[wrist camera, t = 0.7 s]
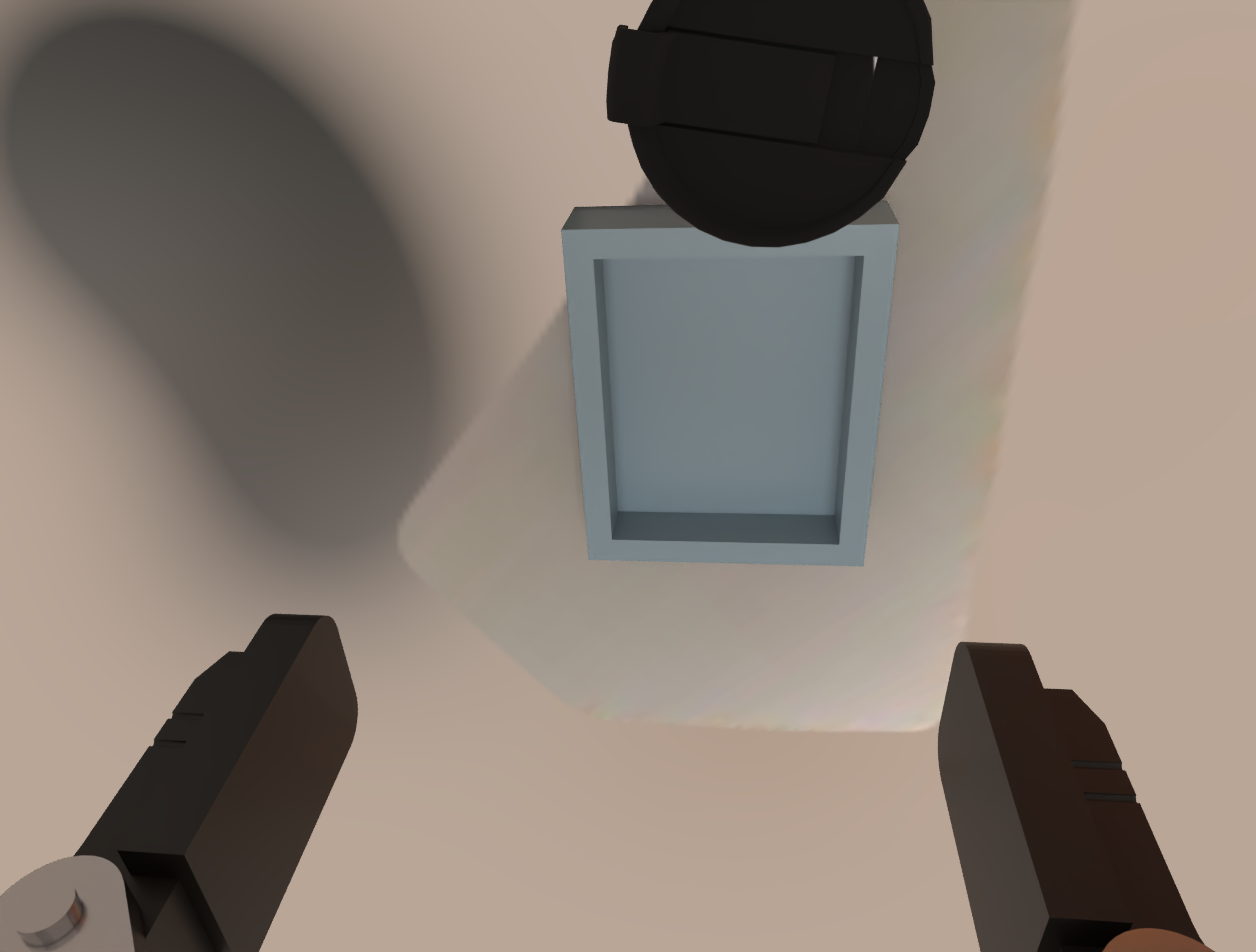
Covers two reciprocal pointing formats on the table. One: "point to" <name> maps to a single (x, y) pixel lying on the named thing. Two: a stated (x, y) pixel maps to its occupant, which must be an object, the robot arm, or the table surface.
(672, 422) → the slate tray
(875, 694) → the table surface
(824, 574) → the table surface
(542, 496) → the table surface
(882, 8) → the travel mug
